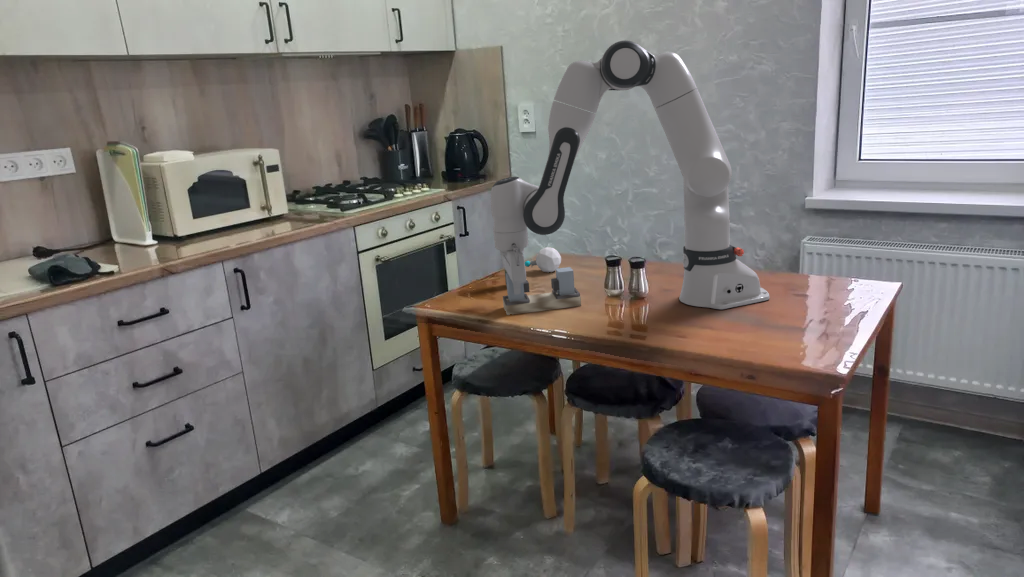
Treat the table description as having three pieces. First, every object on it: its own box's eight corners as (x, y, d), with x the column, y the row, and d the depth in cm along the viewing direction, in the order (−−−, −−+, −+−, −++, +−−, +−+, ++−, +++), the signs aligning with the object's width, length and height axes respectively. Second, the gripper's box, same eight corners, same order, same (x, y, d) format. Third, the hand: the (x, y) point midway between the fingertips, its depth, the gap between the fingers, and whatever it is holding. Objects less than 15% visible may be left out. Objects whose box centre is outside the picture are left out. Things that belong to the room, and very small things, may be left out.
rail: (575, 298, 194) (574, 286, 193) (581, 305, 187) (580, 294, 186) (503, 307, 191) (502, 295, 190) (507, 315, 185) (505, 303, 184)
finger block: (528, 295, 190) (525, 270, 188) (530, 299, 186) (528, 274, 184) (507, 298, 189) (505, 273, 187) (509, 302, 185) (507, 276, 183)
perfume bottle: (559, 264, 216) (521, 270, 218) (564, 273, 223) (528, 279, 226) (557, 241, 218) (520, 247, 221) (562, 251, 226) (526, 257, 229)
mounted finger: (571, 291, 191) (570, 267, 189) (574, 295, 187) (573, 270, 185) (551, 294, 191) (550, 269, 189) (554, 298, 187) (553, 273, 185)
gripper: (529, 247, 173) (534, 300, 177) (517, 231, 193) (521, 279, 197) (504, 250, 173) (509, 303, 177) (494, 234, 192) (499, 282, 196)
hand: (515, 290), depth 187 cm, fingers closed on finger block, 4 cm apart
